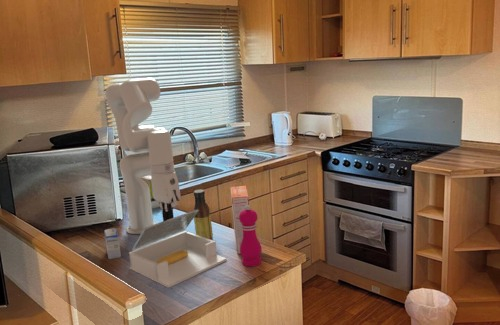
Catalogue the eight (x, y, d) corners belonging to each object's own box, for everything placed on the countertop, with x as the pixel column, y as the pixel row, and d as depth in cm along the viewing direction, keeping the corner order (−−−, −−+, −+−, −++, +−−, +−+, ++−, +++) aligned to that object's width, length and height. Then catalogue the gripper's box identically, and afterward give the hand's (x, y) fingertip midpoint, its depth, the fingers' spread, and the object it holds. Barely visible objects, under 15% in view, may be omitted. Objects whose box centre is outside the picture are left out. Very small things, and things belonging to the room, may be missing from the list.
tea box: (136, 203, 234) (132, 174, 231) (154, 198, 241) (150, 170, 237) (152, 209, 223) (148, 178, 220) (170, 203, 230) (167, 174, 226)
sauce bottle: (204, 236, 184) (200, 187, 179) (216, 239, 180) (212, 189, 176) (192, 242, 179) (187, 191, 175) (204, 245, 175) (199, 193, 171)
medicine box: (106, 251, 176) (103, 229, 174) (119, 249, 177) (116, 227, 175) (108, 259, 169) (105, 236, 167) (121, 257, 170) (118, 234, 168)
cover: (132, 250, 158) (131, 248, 159) (184, 230, 173) (183, 229, 173) (145, 229, 149) (144, 227, 150) (198, 210, 164) (197, 208, 164)
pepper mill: (236, 263, 158) (231, 206, 154) (251, 256, 163) (247, 200, 158) (251, 269, 153) (247, 210, 148) (267, 261, 158) (263, 204, 153)
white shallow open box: (130, 268, 160) (127, 252, 158) (186, 245, 176) (185, 230, 175) (168, 287, 144) (166, 269, 143) (226, 260, 161) (225, 243, 159)
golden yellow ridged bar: (156, 264, 160) (155, 259, 159) (182, 253, 167) (182, 248, 167) (163, 267, 157) (162, 262, 156) (189, 256, 164) (189, 251, 164)
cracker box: (234, 239, 178) (230, 186, 174) (250, 238, 179) (246, 184, 174) (236, 255, 165) (231, 197, 160) (253, 253, 165) (249, 195, 160)
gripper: (185, 168, 152) (191, 222, 156) (158, 163, 163) (164, 214, 167) (166, 173, 147) (172, 229, 151) (140, 168, 158) (146, 220, 162)
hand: (168, 221), depth 159 cm, fingers closed
